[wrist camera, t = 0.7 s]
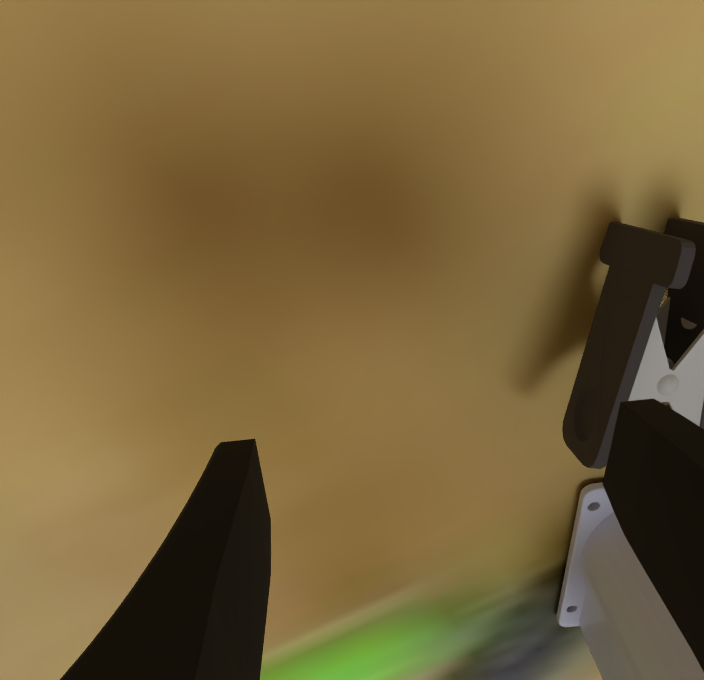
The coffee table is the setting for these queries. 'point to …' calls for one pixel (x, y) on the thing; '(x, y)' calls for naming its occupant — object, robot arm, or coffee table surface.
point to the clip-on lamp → (641, 334)
